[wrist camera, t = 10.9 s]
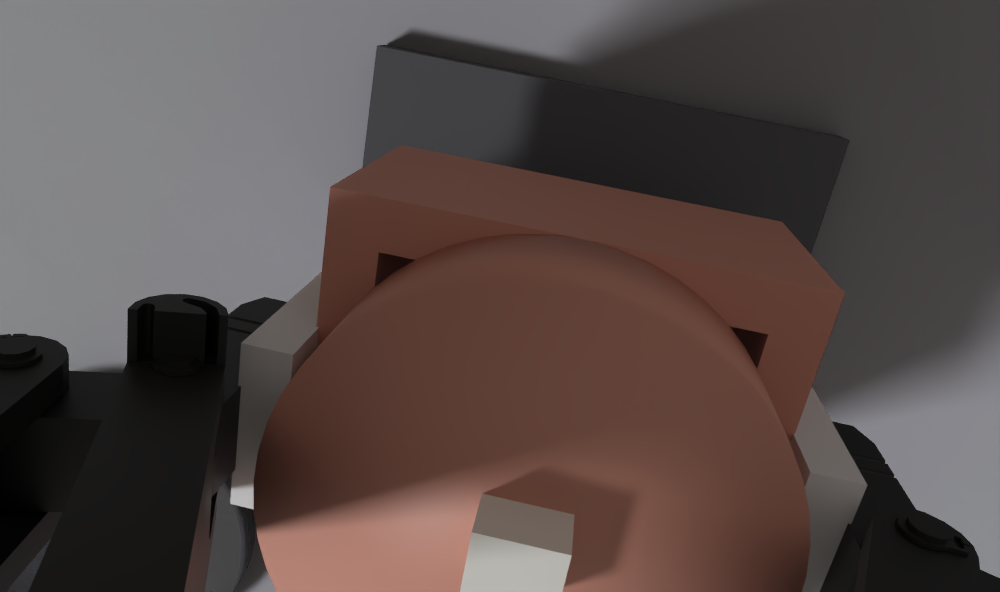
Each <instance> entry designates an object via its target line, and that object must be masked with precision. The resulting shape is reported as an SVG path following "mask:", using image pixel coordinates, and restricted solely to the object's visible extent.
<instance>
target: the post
mask: <svg viewBox="0 0 1000 592" xmlns="http://www.w3.org/2000/svg"><path fill="white" fill-rule="evenodd" d="M231 483H232V474H231V475H230V476H229V478H228V479H227V480H226V481H225V482H224V484H223V485H222V486H221V487H220V488H219V490H218V496H217V512H216V520H215V527H214V533H213V540H212V546H211V553H210V560H209V566H208V573H207V579H206V586H205V592H233V590H234V589H235V587H236V586H237V584H238V582H239V581H240V579H241V578H242V576H243V574H244V572H245V570H246V568H247V566H248V564H249V561H250V558H251V555H252V550H253V544H254V518H253V511H252V509H249V508H245V507H241V506H237V505H233V504H230V497H231ZM51 538H52V537H51ZM50 540H51V539H50ZM50 540H49V541H48V542H47V543H46V545H45V546H44V547H43V548H42V549H41V551H40V552H39V553H38V554H37V555H36V557H35V558H34V559H33V560H32V561H31V563H30V564H29V565H28V566H27V567H26V568H25V570H24V571H23V572H22V573H21V574H20V576H19V577H18V578H17V579H16V580H15V582H14V583H13V584H12V585H11V586H10V588H9V589H8V590H7V591H6V592H28V591H29V589H30V586H31V584H32V582H33V580H34V577H35V575H36V573H37V570H38V568H39V566H40V563H41V561H42V559H43V556H44V554H45V552H46V549H47V547H48V545H49V542H50Z"/></svg>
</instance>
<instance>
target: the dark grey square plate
mask: <svg viewBox="0 0 1000 592" xmlns="http://www.w3.org/2000/svg"><path fill="white" fill-rule="evenodd" d="M848 143H849V140H847V139H845V138H843V137H840V136H835V135H830V134H825V133H820V132H815V131H810V130H805V129H800V128H795V127H790V126H785V125H780V124H775V123H770V122H765V121H760V120H755V119H750V118H745V117H740V116H735V115H730V114H725V113H720V112H716V111H711V110H706V109H701V108H696V107H691V106H686V105H681V104H676V103H671V102H666V101H661V100H656V99H651V98H646V97H641V96H636V95H631V94H626V93H621V92H616V91H611V90H606V89H601V88H596V87H591V86H586V85H581V84H576V83H571V82H566V81H561V80H556V79H551V78H547V77H542V76H537V75H532V74H527V73H522V72H517V71H512V70H507V69H502V68H497V67H492V66H487V65H482V64H477V63H472V62H467V61H462V60H457V59H452V58H447V57H442V56H437V55H432V54H427V53H422V52H417V51H412V50H407V49H402V48H397V47H392V46H387V45H380V46H377V51H376V59H375V68H374V76H373V84H372V93H371V101H370V109H369V118H368V126H367V134H366V143H365V151H364V159H363V167H365V166H366V165H368V164H370V163H372V162H373V161H375V160H377V159H378V158H380V157H382V156H383V155H385V154H387V153H388V152H390V151H392V150H393V149H395V148H397V147H398V146H400V145H404V146H409V147H414V148H419V149H424V150H429V151H434V152H439V153H444V154H449V155H454V156H459V157H464V158H469V159H474V160H479V161H484V162H489V163H493V164H498V165H503V166H508V167H513V168H518V169H523V170H528V171H533V172H538V173H543V174H548V175H553V176H558V177H563V178H568V179H573V180H578V181H583V182H588V183H592V184H597V185H602V186H607V187H612V188H617V189H622V190H627V191H632V192H637V193H642V194H647V195H652V196H657V197H662V198H667V199H672V200H677V201H682V202H686V203H691V204H696V205H701V206H706V207H711V208H716V209H721V210H726V211H731V212H736V213H741V214H746V215H751V216H756V217H761V218H766V219H771V220H776V221H781V222H783V223H784V225H785V226H786V227H787V228H788V229H789V230H790V231H791V232H792V234H793V235H794V236H795V237H796V238H797V239H798V240H799V242H800V243H801V244H802V245H803V246H804V247H805V248H806V249H807V251H808V252H809V253H810V254H811V251H812V248H813V245H814V242H815V240H816V237H817V234H818V231H819V228H820V225H821V222H822V219H823V216H824V213H825V210H826V207H827V205H828V202H829V199H830V196H831V193H832V190H833V187H834V184H835V181H836V178H837V175H838V172H839V170H840V167H841V164H842V161H843V158H844V155H845V152H846V149H847V146H848Z"/></svg>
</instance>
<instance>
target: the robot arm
mask: <svg viewBox="0 0 1000 592" xmlns="http://www.w3.org/2000/svg"><path fill="white" fill-rule="evenodd" d="M321 276H322V272H321V273H320V274H319V275H318V276H316V277H315V278H314V279H313V280H312V281H311V282H310V283H309V284H307V285H306V286H305V287H304V288H303V289H302V290H301V291H299V292H298V293H297V294H296V295H295V296H294V297H293V298H292V299H290V300H289V301H288V302H284V301H280V300H275V299H271V298H266V297H264V298H260V299H257V300H254V301H251V302H248V303H245V304H242V305H240V306H239V307H238V308H236V309H235V310H234V311H233V312H231V313H230V314H229V315H228V312H227V309H226V308H225V307H224V306H222V305H221V304H220V303H218V302H216V301H213V300H210V299H207V298H205V297H200V296H193V295H186V294H165V295H158V296H152V297H147V298H145V299H142V300H139V301H137V302H135V303H134V304H133V305H132V306H130V307H129V308H128V338H127V364H126V366H125V368H124V371H123V373H99V372H81V371H69V355H68V352H67V348H66V347H65V346H64V345H62V344H61V343H59V342H58V341H56V340H52V339H48V338H45V337H41V336H29V335H27V334H13V336H11V334H7V335H0V592H6V591H7V590H8V589H9V588H10V586H11V585H12V584H13V583H14V582H15V580H16V579H17V578H18V577H19V576H20V574H21V573H22V572H23V571H24V570H25V568H26V567H27V566H28V565H29V564H30V563H31V561H32V560H33V559H34V558H35V557H36V555H37V554H38V553H39V552H40V551H41V549H42V548H43V547H44V546H45V545H46V543H47V542H48V541H49V540H50V539H51V540H50V542H49V545H48V547H47V549H46V552H45V554H44V556H43V559H42V561H41V563H40V566H39V568H38V570H37V573H36V575H35V577H34V580H33V582H32V584H31V586H30V589H29V591H28V592H205V586H206V579H207V573H208V566H209V560H210V553H211V546H212V540H213V533H214V527H215V520H216V512H217V496H218V490H219V488H220V487H221V486H222V485H223V484H224V482H225V481H226V480H227V479H228V478H229V476H230V475H231V474H232V483H231V497H230V504H233V505H237V506H241V507H245V508H249V509H254V474H255V468H256V461H257V454H258V449H259V446H260V443H261V440H262V437H263V434H264V430H265V427H266V424H267V421H268V419H269V417H270V415H271V413H272V411H273V409H274V407H275V405H276V403H277V401H278V399H279V397H280V395H281V393H282V392H283V391H284V389H285V388H286V386H287V385H288V384H289V382H290V381H291V379H292V378H293V376H294V375H295V374H296V372H297V371H298V369H299V368H300V367H301V366H302V365H303V363H304V362H305V361H306V360H307V359H308V358H309V357H310V356H311V354H312V353H313V352H314V351H315V350H316V349H317V341H318V331H319V327H316V326H317V316H318V306H319V296H320V286H321ZM790 445H791V447H792V450H793V452H794V455H795V458H796V461H797V463H798V466H799V469H800V472H801V475H802V477H803V481H804V486H805V491H806V496H807V501H808V507H809V512H810V543H811V546H810V553H809V561H808V568H807V575H806V579H805V583H804V586H803V589H802V592H1000V578H998V577H995V576H993V575H991V574H989V573H986V572H984V571H982V570H980V566H979V557H978V555H977V553H976V551H975V548H974V546H973V545H972V544H971V543H970V542H969V541H968V540H967V539H966V538H965V537H964V536H963V535H962V534H961V533H960V532H958V531H957V530H955V529H954V528H952V527H951V526H949V525H948V524H947V523H945V522H943V521H941V520H939V519H937V518H935V517H933V516H931V515H929V514H927V513H925V512H921V511H918V510H916V509H915V507H914V506H913V504H912V502H911V501H910V499H909V498H908V496H907V494H906V493H905V491H904V490H903V488H902V487H901V485H900V483H899V482H898V480H897V479H896V478H894V474H893V472H892V471H891V469H890V468H889V466H888V464H885V460H884V458H883V457H882V455H881V453H880V452H879V450H878V449H877V447H876V445H875V444H874V443H873V442H872V441H871V440H869V439H868V438H867V437H866V436H864V435H863V434H862V433H861V432H860V431H858V430H857V429H856V428H855V427H854V426H850V425H846V424H841V423H837V422H832V421H831V419H830V417H829V416H828V414H827V412H826V410H825V409H824V407H823V405H822V403H821V401H820V400H819V398H818V396H817V394H816V393H815V391H814V389H813V387H812V388H811V390H810V393H809V396H808V399H807V402H806V404H805V407H804V410H803V413H802V416H801V418H800V421H799V424H798V427H797V429H796V432H795V434H793V436H792V439H791V442H790ZM51 537H52V538H51Z"/></svg>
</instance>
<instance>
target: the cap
mask: <svg viewBox="0 0 1000 592" xmlns="http://www.w3.org/2000/svg"><path fill="white" fill-rule="evenodd" d="M844 296H845V292H844V291H843V290H842V289H841V288H840V287H839V286H838V285H837V283H836V282H835V281H834V280H833V279H832V278H831V277H830V275H829V274H828V273H827V272H826V271H825V270H824V269H823V268H822V266H821V265H820V264H819V263H818V262H817V261H816V260H815V258H814V257H813V256H812V255H811V254H810V253H809V252H808V251H807V249H806V248H805V247H804V246H803V245H802V244H801V243H800V242H799V240H798V239H797V238H796V237H795V236H794V235H793V234H792V232H791V231H790V230H789V229H788V228H787V227H786V226H785V225H784V223H783V222H781V221H776V220H771V219H766V218H761V217H756V216H751V215H746V214H741V213H736V212H731V211H726V210H721V209H716V208H711V207H706V206H701V205H696V204H691V203H686V202H682V201H677V200H672V199H667V198H662V197H657V196H652V195H647V194H642V193H637V192H632V191H627V190H622V189H617V188H612V187H607V186H602V185H597V184H592V183H588V182H583V181H578V180H573V179H568V178H563V177H558V176H553V175H548V174H543V173H538V172H533V171H528V170H523V169H518V168H513V167H508V166H503V165H498V164H493V163H489V162H484V161H479V160H474V159H469V158H464V157H459V156H454V155H449V154H444V153H439V152H434V151H429V150H424V149H419V148H414V147H409V146H404V145H400V146H398V147H397V148H395V149H393V150H392V151H390V152H388V153H387V154H385V155H383V156H382V157H380V158H378V159H377V160H375V161H373V162H372V163H370V164H368V165H366V166H365V167H363V168H361V169H360V170H358V171H356V172H355V173H353V174H351V175H350V176H348V177H346V178H345V179H343V180H341V181H340V182H338V183H336V184H334V185H333V186H331V187H330V196H329V206H328V216H327V226H326V236H325V246H324V256H323V266H322V276H321V286H320V296H319V306H318V316H317V326H316V327H319V331H318V341H317V349H316V350H315V351H314V352H313V353H312V354H311V356H310V357H309V358H308V359H307V360H306V361H305V362H304V363H303V365H302V366H301V367H300V368H299V369H298V371H297V372H296V374H295V375H294V376H293V378H292V379H291V381H290V382H289V384H288V385H287V386H286V388H285V389H284V391H283V392H282V393H281V395H280V397H279V399H278V401H277V403H276V405H275V407H274V409H273V411H272V413H271V415H270V417H269V419H268V421H267V424H266V427H265V430H264V434H263V437H262V440H261V443H260V446H259V449H258V454H257V461H256V468H255V474H254V517H255V524H256V530H257V537H258V542H259V545H260V549H261V552H262V555H263V559H264V562H265V566H266V569H267V571H268V573H269V576H270V578H271V580H272V582H273V585H274V587H275V589H276V591H277V592H802V589H803V586H804V583H805V579H806V575H807V568H808V561H809V553H810V546H811V543H810V512H809V507H808V501H807V496H806V491H805V486H804V481H803V477H802V475H801V472H800V469H799V466H798V463H797V461H796V458H795V455H794V452H793V450H792V447H791V445H790V442H791V439H792V436H793V434H795V432H796V429H797V427H798V424H799V421H800V418H801V416H802V413H803V410H804V407H805V404H806V402H807V399H808V396H809V393H810V390H811V388H812V385H813V382H814V379H815V376H816V374H817V371H818V368H819V365H820V363H821V360H822V357H823V354H824V351H825V349H826V346H827V343H828V340H829V337H830V335H831V332H832V329H833V326H834V323H835V321H836V318H837V315H838V312H839V309H840V307H841V304H842V301H843V298H844Z"/></svg>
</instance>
